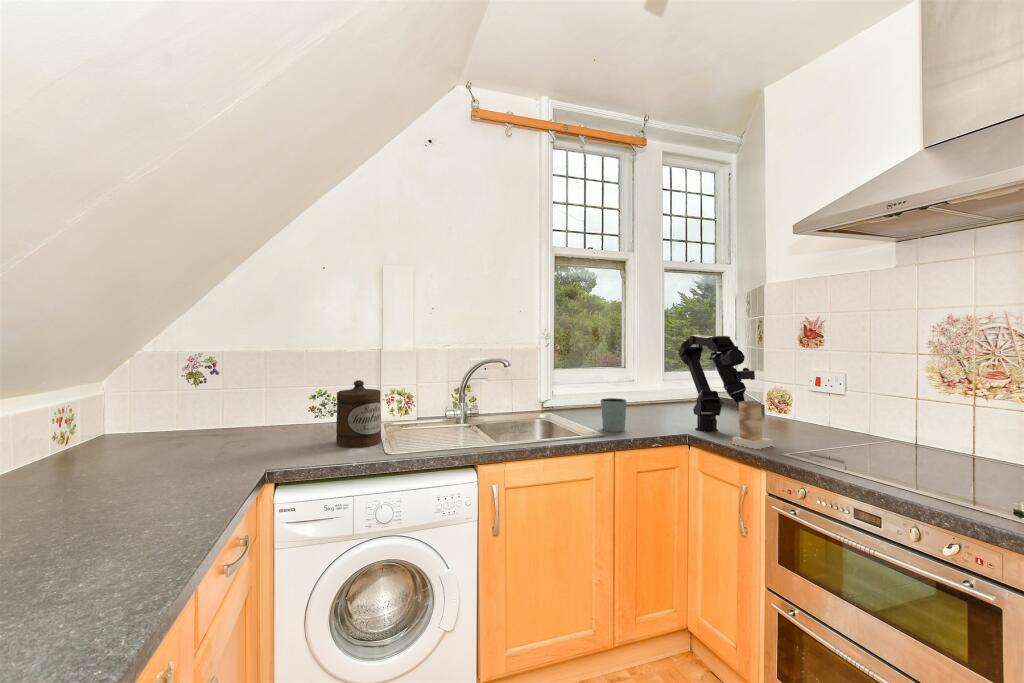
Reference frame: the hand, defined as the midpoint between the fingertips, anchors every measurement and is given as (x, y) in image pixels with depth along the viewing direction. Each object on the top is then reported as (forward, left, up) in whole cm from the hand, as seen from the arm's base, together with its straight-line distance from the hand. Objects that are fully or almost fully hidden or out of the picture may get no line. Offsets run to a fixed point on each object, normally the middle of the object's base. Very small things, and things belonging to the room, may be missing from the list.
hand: (743, 407), depth 175 cm
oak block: (+8, -7, -9) cm, 14 cm away
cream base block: (+8, -7, -12) cm, 16 cm away
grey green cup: (-36, -31, -12) cm, 49 cm away
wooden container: (-64, -124, -12) cm, 140 cm away
